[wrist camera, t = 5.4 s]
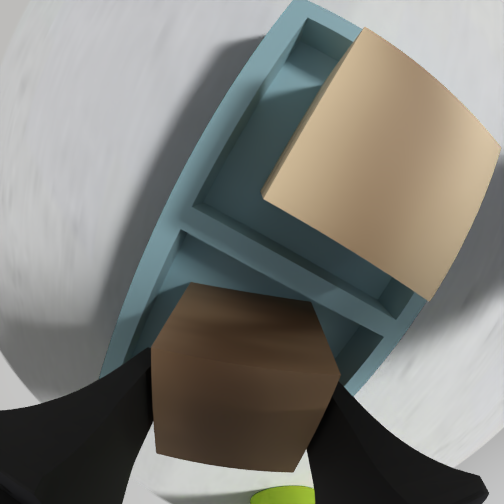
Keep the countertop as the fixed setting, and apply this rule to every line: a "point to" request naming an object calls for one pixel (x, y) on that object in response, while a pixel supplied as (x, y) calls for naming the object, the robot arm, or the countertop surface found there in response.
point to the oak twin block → (387, 165)
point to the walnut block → (240, 379)
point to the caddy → (265, 214)
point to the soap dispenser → (285, 495)
